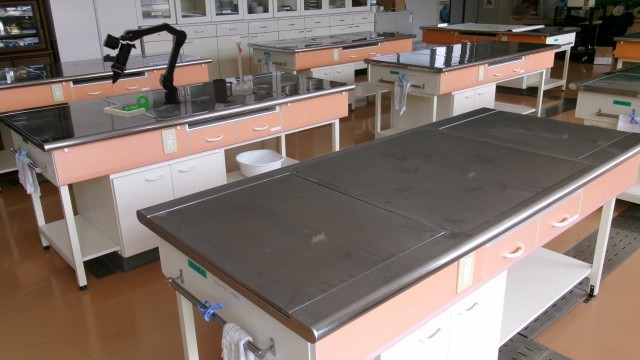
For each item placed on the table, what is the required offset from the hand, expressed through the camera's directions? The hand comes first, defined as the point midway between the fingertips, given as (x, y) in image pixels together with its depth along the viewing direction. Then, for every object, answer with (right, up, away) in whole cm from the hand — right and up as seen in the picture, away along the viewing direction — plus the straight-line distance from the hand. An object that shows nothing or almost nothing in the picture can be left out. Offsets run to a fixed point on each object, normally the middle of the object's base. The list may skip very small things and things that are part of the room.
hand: (113, 83), depth 266 cm
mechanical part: (+11, -14, +3) cm, 18 cm away
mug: (+53, -7, +16) cm, 56 cm away
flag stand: (+60, +1, +37) cm, 70 cm away
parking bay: (+7, -15, -2) cm, 17 cm away
